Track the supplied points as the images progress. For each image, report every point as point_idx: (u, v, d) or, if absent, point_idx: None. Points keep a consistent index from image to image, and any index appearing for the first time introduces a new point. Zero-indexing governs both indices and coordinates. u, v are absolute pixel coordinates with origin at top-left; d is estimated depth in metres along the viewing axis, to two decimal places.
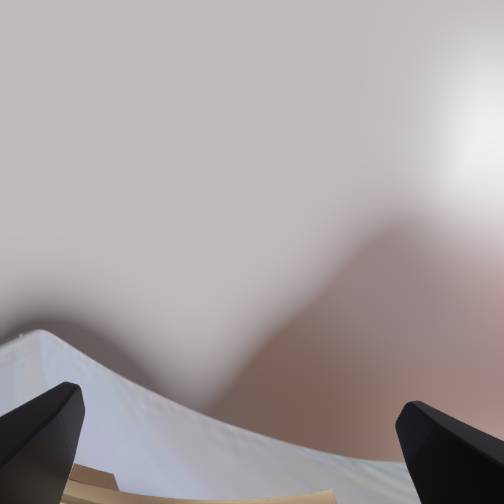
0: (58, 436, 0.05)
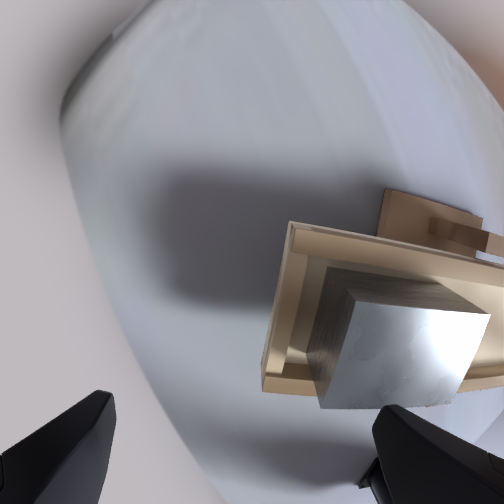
0: (95, 447, 0.05)
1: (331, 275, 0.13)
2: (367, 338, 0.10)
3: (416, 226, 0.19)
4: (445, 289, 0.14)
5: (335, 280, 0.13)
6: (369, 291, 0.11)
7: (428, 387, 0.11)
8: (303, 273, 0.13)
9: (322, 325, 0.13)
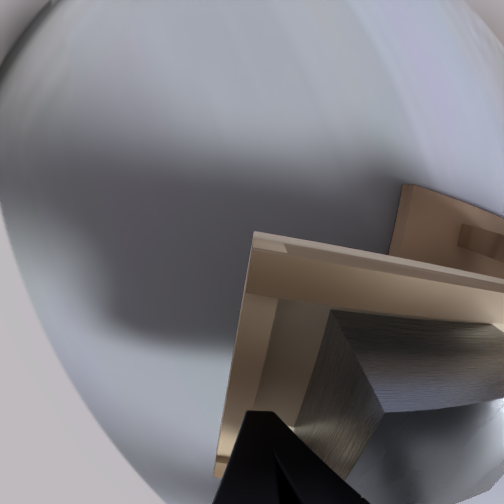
0: None
1: (336, 328, 0.08)
2: (394, 459, 0.04)
3: (443, 236, 0.13)
4: (500, 335, 0.08)
5: (343, 341, 0.07)
6: (405, 371, 0.06)
7: (468, 485, 0.05)
8: (269, 326, 0.07)
9: (319, 406, 0.08)
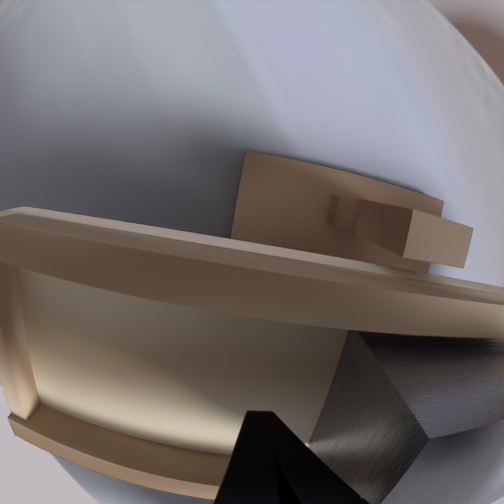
0: None
1: (360, 344, 0.07)
2: (430, 480, 0.04)
3: (301, 211, 0.13)
4: None
5: (370, 358, 0.06)
6: (439, 388, 0.05)
7: (489, 493, 0.04)
8: None
9: (341, 425, 0.07)
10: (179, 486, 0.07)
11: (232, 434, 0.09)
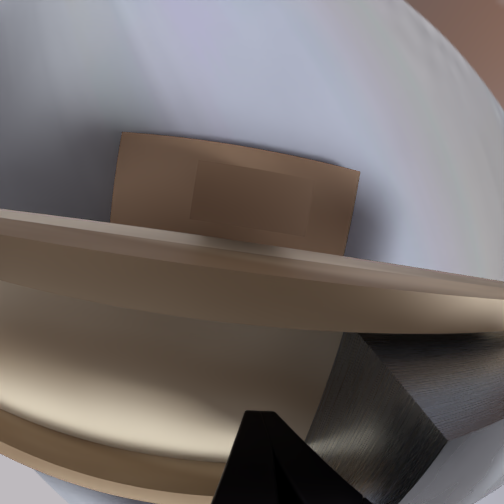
0: None
1: (359, 344, 0.07)
2: (442, 479, 0.04)
3: (175, 188, 0.12)
4: None
5: (373, 359, 0.06)
6: (447, 387, 0.05)
7: (490, 484, 0.05)
8: None
9: (341, 427, 0.07)
10: (37, 463, 0.06)
11: (77, 417, 0.07)
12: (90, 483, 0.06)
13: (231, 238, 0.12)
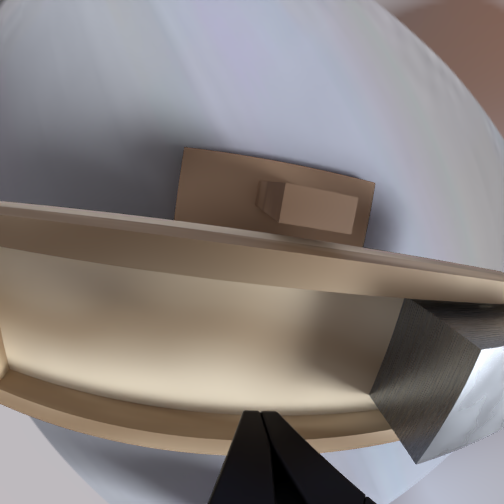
0: None
1: (417, 308, 0.10)
2: (478, 385, 0.07)
3: (231, 195, 0.15)
4: None
5: (428, 315, 0.09)
6: (473, 329, 0.08)
7: None
8: None
9: (406, 368, 0.10)
10: (120, 433, 0.09)
11: (161, 385, 0.10)
12: (172, 444, 0.09)
13: None
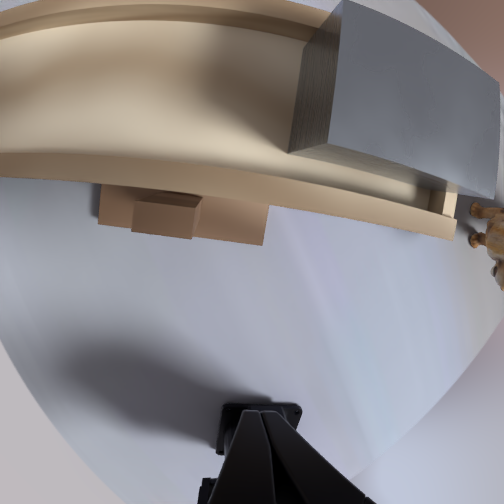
0: None
1: (309, 43, 0.10)
2: (368, 41, 0.07)
3: None
4: None
5: (314, 35, 0.09)
6: None
7: (463, 152, 0.08)
8: None
9: (307, 86, 0.10)
10: (26, 163, 0.09)
11: (77, 127, 0.10)
12: (65, 168, 0.09)
13: None
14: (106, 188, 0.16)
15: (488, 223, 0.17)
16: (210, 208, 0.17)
